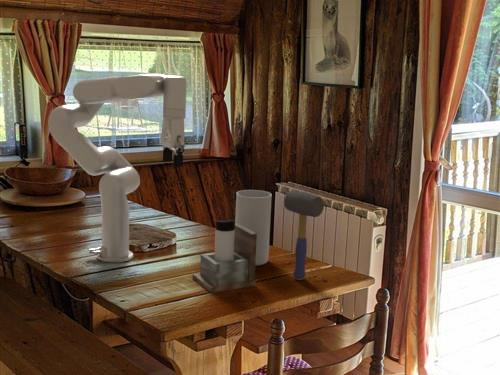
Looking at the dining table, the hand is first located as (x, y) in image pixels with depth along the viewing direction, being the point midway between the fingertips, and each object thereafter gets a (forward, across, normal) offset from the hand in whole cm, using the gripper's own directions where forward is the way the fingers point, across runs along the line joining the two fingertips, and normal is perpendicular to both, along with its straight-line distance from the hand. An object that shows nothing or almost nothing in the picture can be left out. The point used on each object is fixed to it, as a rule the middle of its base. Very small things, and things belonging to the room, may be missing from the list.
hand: (172, 164), depth 221 cm
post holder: (+36, +22, +10) cm, 43 cm away
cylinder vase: (+36, +6, +29) cm, 47 cm away
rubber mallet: (+36, +29, +36) cm, 58 cm away
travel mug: (+34, +22, +10) cm, 42 cm away
